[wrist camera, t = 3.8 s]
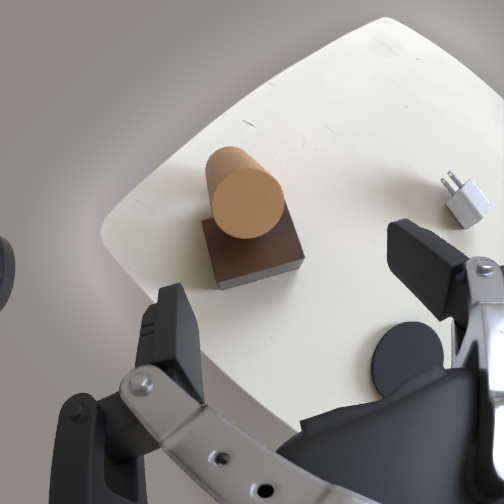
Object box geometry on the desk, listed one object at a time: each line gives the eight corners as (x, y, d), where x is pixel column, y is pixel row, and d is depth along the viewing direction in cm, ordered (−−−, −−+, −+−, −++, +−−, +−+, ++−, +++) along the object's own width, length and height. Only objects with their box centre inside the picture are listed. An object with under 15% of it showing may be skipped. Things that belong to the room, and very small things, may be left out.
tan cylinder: (281, 257, 30) (295, 207, 19) (231, 271, 30) (214, 229, 18) (248, 160, 34) (244, 83, 22) (205, 171, 33) (183, 98, 22)
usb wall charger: (463, 231, 31) (481, 220, 27) (430, 189, 32) (445, 174, 28) (475, 215, 31) (492, 203, 27) (444, 175, 33) (458, 160, 29)
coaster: (398, 419, 25) (400, 421, 24) (354, 360, 27) (356, 361, 27) (452, 363, 26) (455, 363, 26) (414, 304, 28) (416, 304, 28)
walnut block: (299, 268, 30) (305, 257, 26) (222, 290, 29) (216, 283, 26) (281, 215, 32) (284, 198, 28) (207, 235, 31) (201, 220, 27)
